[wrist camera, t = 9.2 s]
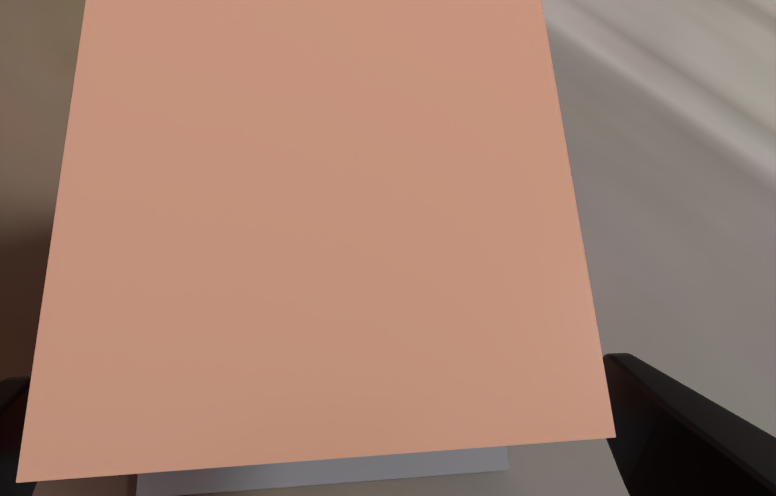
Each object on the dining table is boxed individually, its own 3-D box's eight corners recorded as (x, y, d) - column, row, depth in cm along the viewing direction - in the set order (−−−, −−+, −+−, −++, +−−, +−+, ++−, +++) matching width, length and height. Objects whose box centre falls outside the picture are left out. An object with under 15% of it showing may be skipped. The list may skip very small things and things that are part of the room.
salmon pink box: (442, 406, 15) (616, 437, 6) (213, 420, 14) (15, 483, 5) (425, 200, 17) (539, -9, 8) (223, 201, 16) (90, -36, 7)
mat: (504, 467, 15) (509, 470, 15) (140, 495, 14) (135, 498, 13) (471, 156, 18) (475, 151, 18) (170, 151, 17) (166, 146, 16)
